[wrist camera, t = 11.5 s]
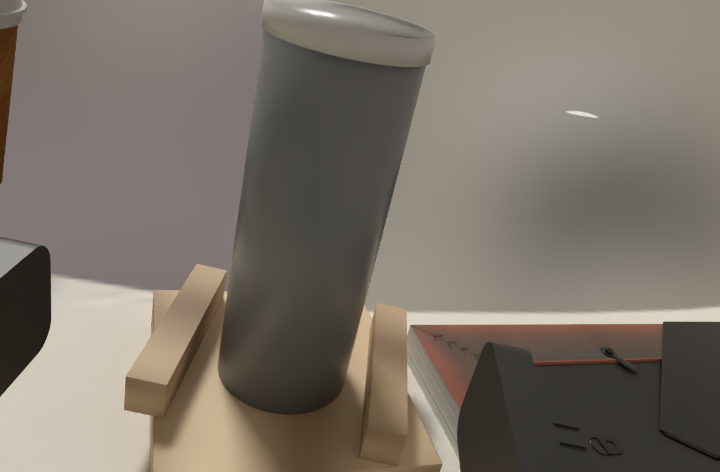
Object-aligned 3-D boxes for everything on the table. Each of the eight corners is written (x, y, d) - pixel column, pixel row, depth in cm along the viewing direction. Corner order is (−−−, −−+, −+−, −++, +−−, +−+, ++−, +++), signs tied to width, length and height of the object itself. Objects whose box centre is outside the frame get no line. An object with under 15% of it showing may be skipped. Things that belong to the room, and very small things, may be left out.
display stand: (116, 534, 19) (121, 455, 18) (129, 325, 29) (132, 260, 27) (451, 498, 24) (477, 431, 22) (368, 325, 33) (383, 270, 31)
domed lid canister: (220, 420, 22) (280, 16, 16) (210, 328, 26) (253, -14, 20) (362, 413, 24) (465, 49, 18) (329, 328, 28) (402, 15, 22)
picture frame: (708, 352, 39) (399, 360, 32) (727, 320, 38) (411, 320, 30) (1008, 607, 26) (591, 729, 18) (1051, 568, 24) (625, 681, 17)
